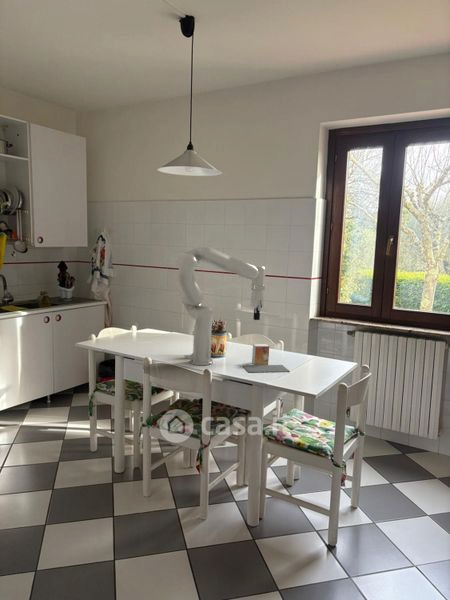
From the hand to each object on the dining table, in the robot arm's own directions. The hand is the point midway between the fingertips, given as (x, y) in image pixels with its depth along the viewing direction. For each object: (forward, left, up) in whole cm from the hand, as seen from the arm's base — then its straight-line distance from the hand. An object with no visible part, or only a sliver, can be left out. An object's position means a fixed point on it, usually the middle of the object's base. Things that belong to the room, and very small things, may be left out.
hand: (256, 319), depth 255 cm
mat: (0, -23, -22) cm, 32 cm away
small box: (0, -12, -23) cm, 26 cm away
